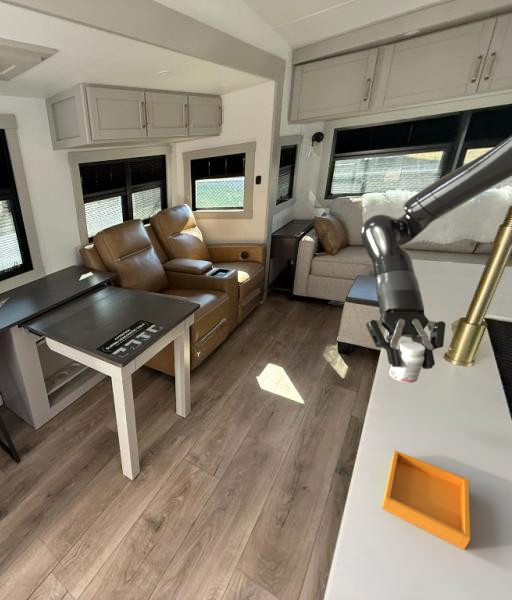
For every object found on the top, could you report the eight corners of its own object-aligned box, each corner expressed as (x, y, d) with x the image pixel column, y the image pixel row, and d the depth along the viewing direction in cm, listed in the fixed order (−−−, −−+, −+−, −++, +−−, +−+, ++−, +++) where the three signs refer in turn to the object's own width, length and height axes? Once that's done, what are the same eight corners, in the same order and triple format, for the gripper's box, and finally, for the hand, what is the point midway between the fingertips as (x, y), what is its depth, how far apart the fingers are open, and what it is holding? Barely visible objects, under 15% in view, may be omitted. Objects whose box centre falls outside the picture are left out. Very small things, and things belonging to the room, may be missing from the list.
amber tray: (463, 489, 58) (468, 479, 57) (464, 550, 50) (470, 539, 49) (391, 459, 65) (394, 449, 64) (381, 508, 57) (385, 497, 56)
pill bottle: (419, 376, 71) (431, 345, 67) (412, 386, 68) (424, 355, 65) (393, 367, 74) (402, 337, 71) (385, 376, 72) (394, 346, 69)
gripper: (368, 288, 72) (380, 363, 67) (448, 287, 68) (467, 367, 62) (354, 298, 79) (365, 367, 74) (426, 298, 74) (442, 372, 69)
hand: (412, 367), depth 68 cm, fingers closed on pill bottle, 4 cm apart
